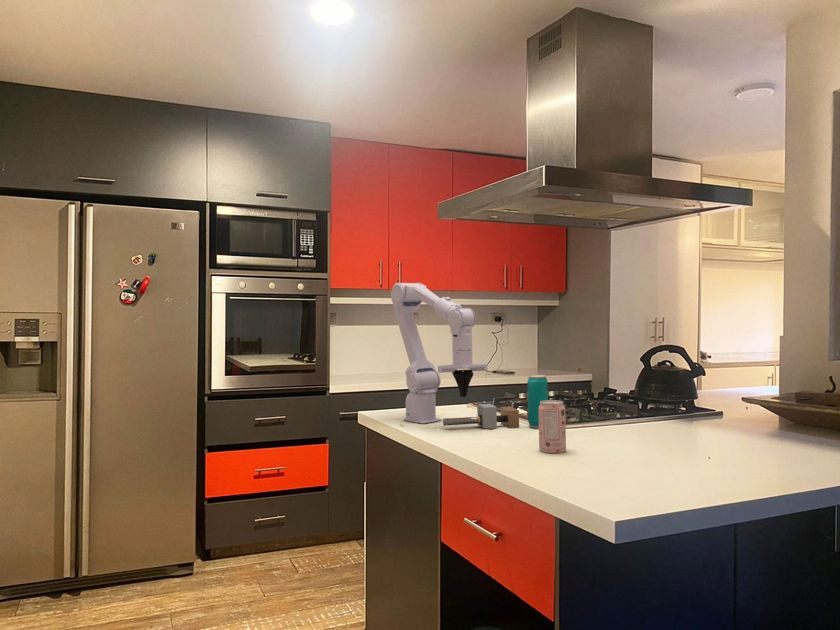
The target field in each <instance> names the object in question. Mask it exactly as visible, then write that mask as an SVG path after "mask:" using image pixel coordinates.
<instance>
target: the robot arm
mask: <svg viewBox="0 0 840 630" xmlns="http://www.w3.org/2000/svg"><path fill="white" fill-rule="evenodd" d="M390 298H391V301H392V306H393V309H394V314H395V318H396V321H397V324H398V327H399V330H400V334H401V338H402V341H403V345H404V349H405V351H406V355H407V359H408V361H409V366H408V367H407V368H406V370H405V371H404V373H405V377H406V378H405V379H406V387H407V389H408V391H410V392H409V393H408V394H407V395H406V397H405V418H403V421H408V422H411V423H418V424H423V425H424V424H429V423H435V422H441V421H443V418H439V417H436V416H437V415H436V413H437V412H436V411H437V410H436V407H437V405H436V404H437V403H436V392H438V389H439V388H440V385H441V376H440V374H441V373H452V376H453V378H454V380H455V383H456V384H457V387H458V391H459V396H460V397H462V398H465V397H467V396H468V395H467V394H468V389H469V387H470V382H471V380H472V378H473V376H474V372H481V371H482V372H483V371H484V372H488V371H489V370H488V363H473V331H472V330H473V327H474V326H475V324H476V320H477V319H476V318H477V316H476V313H475V311H474V310H473V309H472V308H471V307H466V308H465V307H464V308H463V307H462V304H459V303H456V302H454V301H452V298H451V297H449V296H446V297H445V296H444V297H439V296H438V295H436V294H435V293H434V292H432V291H431V290H430V289H428V288H427V285H425V284H423V283H422V282H415V283H414V282H411V283H410V282H395V284H394V285H393V286H392V289H391V292H390ZM422 303H424V304H426V305H428V306H430V307H432V308H433V309H434V313H435V314H436V315H437V316H439V317H441V319H443V320H445V321H446V322H447V324H448V326H449V328H450V329H449V330H450V334H451V337H452V338H451V339H452V340H451V341H452V343H451V345H452V364H444V365H443V364H442V365H437V369H436V366H435V364H434V363H431V361H429V360H428V359H427V357H426V353H425V348H424V346H423V342H422V340H421V336H420V334H419V329H418V327H417V323H416V320H415V317H414V313H415V312H416V311H417V310H418V309H419V307H420V306H421V304H422Z"/></svg>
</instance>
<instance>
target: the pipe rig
mask: <svg viewBox="0 0 840 630" xmlns="http://www.w3.org/2000/svg"><path fill="white" fill-rule="evenodd" d="M480 423H482V416H481V417H480V416H478V415H477V416H469V417H468V416H466V417H448V418H442V425H443V426H444V427H445V426H460V425H462V426H463V425H475V424H477V425H478V424H480ZM497 423H500V424H501V425H502V426H504V427H506V428H508V429H517V428H520V411H519V409H517V408H515V407H512V406H501V407H500V415H498V414H497ZM486 429H487V430H489V431H493V430H494V428H486Z"/></svg>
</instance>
